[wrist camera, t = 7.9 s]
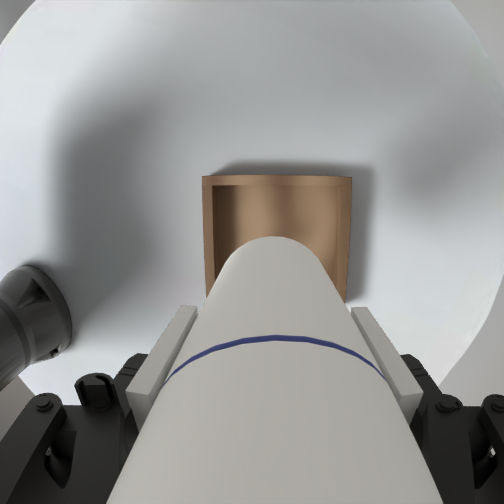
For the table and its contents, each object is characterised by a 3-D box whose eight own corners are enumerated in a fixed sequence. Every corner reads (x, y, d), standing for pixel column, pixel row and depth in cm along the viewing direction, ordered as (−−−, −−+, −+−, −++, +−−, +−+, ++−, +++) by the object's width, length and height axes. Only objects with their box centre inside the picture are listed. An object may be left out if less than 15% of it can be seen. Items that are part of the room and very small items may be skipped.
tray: (212, 304, 36) (207, 314, 33) (208, 176, 33) (202, 175, 30) (338, 305, 35) (343, 316, 32) (344, 177, 32) (351, 177, 29)
